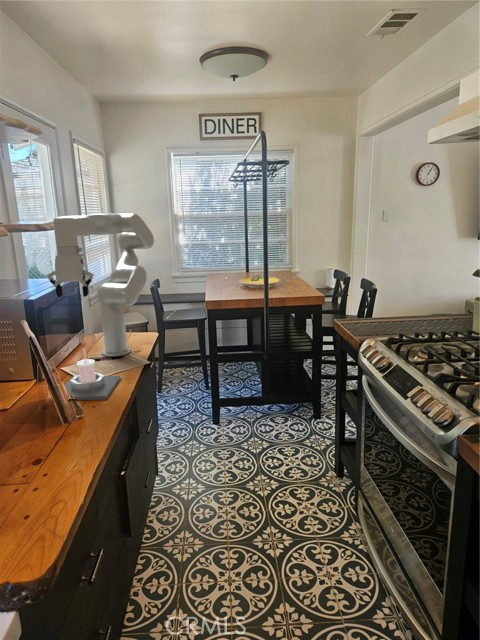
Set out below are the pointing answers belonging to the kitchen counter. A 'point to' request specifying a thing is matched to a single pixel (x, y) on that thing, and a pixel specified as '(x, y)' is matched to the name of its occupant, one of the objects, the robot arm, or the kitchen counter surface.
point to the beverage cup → (86, 369)
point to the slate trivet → (96, 394)
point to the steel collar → (87, 383)
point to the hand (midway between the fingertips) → (72, 296)
